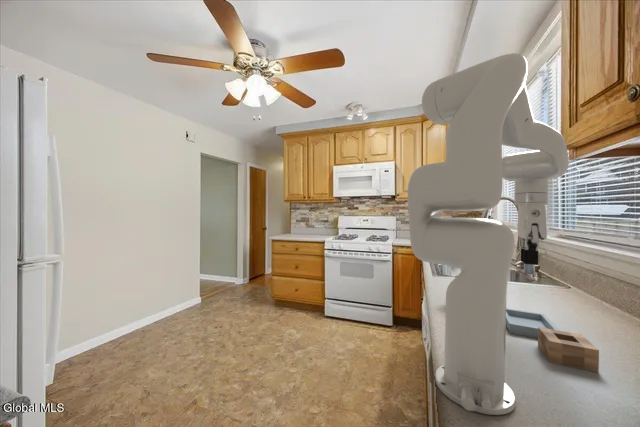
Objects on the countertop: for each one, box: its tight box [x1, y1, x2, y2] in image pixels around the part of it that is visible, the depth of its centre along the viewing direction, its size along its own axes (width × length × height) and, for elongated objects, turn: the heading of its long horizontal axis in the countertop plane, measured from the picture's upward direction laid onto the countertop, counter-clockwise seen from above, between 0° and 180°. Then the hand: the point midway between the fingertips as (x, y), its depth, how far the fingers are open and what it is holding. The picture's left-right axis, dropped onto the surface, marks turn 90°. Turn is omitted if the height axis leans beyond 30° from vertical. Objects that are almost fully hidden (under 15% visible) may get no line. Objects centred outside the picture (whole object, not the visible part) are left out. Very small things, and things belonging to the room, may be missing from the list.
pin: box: [523, 241, 536, 275], centre depth 75 cm, size 2×2×10 cm
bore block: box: [537, 327, 600, 373], centre depth 59 cm, size 8×8×5 cm
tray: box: [506, 307, 561, 339], centre depth 75 cm, size 14×11×2 cm
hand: (529, 262), depth 75 cm, fingers closed on pin, 2 cm apart
